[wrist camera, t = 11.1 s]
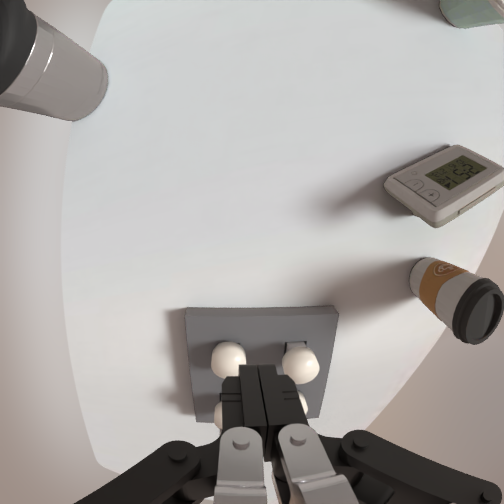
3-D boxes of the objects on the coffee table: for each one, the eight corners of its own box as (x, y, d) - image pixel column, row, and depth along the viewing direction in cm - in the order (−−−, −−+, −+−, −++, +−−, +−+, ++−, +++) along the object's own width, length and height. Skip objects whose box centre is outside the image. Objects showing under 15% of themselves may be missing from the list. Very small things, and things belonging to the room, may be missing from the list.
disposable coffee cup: (466, 4, 28) (515, -20, 13) (478, 49, 31) (535, 32, 16) (423, -18, 27) (471, -52, 13) (435, 29, 30) (493, -1, 16)
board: (197, 411, 45) (196, 422, 42) (187, 307, 39) (184, 315, 37) (315, 407, 46) (318, 417, 44) (333, 305, 41) (339, 313, 38)
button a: (213, 355, 41) (211, 379, 36) (212, 329, 40) (210, 351, 35) (244, 355, 42) (246, 379, 36) (244, 329, 40) (246, 351, 35)
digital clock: (458, 143, 36) (507, 143, 25) (466, 200, 38) (513, 211, 28) (374, 157, 36) (420, 156, 25) (386, 223, 38) (431, 241, 28)
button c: (277, 361, 40) (283, 385, 35) (279, 335, 39) (286, 358, 34) (307, 359, 41) (316, 382, 36) (311, 333, 40) (321, 355, 34)
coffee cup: (443, 243, 40) (510, 275, 25) (443, 291, 42) (501, 332, 27) (400, 257, 40) (466, 298, 25) (403, 307, 42) (458, 358, 27)
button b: (215, 406, 42) (215, 431, 37) (214, 386, 41) (213, 411, 36) (244, 406, 43) (246, 430, 37) (244, 386, 41) (246, 411, 36)
